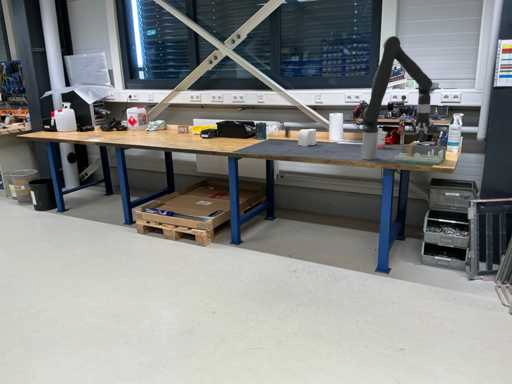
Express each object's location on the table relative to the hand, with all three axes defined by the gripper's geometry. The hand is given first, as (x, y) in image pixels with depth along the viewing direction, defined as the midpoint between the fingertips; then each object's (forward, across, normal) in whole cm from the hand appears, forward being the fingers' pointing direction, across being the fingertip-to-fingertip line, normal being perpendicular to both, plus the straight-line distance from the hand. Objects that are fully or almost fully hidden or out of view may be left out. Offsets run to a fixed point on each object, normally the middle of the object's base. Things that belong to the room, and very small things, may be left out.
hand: (421, 139), depth 257 cm
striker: (+10, +1, -6) cm, 12 cm away
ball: (+9, 0, -11) cm, 14 cm away
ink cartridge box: (+12, -36, +27) cm, 47 cm away
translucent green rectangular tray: (+12, +2, -7) cm, 14 cm away
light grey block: (+12, -90, +18) cm, 93 cm away
